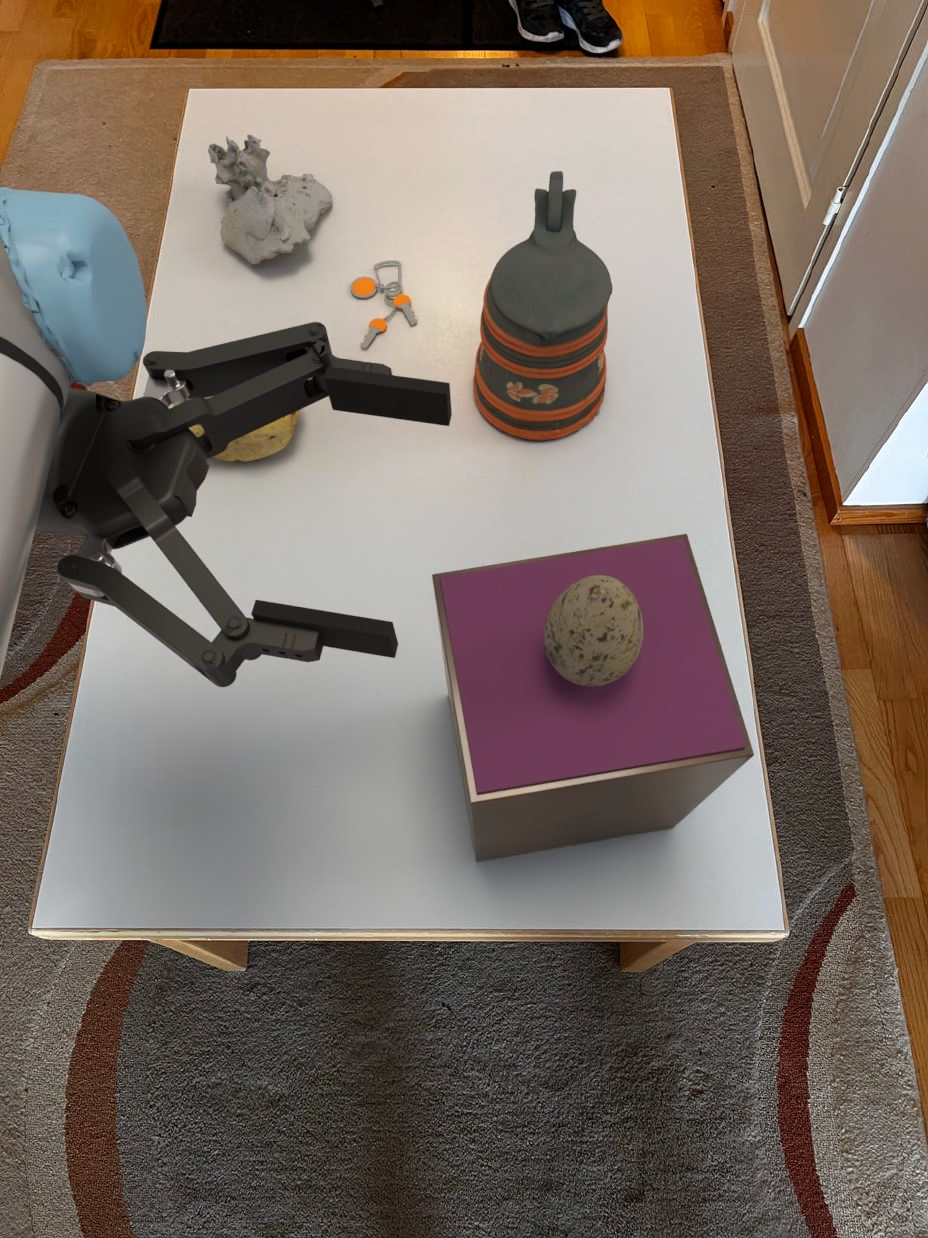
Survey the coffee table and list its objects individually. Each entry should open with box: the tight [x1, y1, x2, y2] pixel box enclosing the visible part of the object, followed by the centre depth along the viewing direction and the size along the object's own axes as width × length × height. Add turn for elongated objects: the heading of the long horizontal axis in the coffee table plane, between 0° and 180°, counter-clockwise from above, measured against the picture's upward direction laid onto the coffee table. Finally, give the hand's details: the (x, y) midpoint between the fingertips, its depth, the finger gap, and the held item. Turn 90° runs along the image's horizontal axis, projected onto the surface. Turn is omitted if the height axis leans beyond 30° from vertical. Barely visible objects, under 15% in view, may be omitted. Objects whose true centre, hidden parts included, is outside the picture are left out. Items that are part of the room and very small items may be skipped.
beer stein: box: [472, 170, 613, 442], centre depth 89 cm, size 19×15×20 cm
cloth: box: [440, 538, 746, 794], centre depth 57 cm, size 17×15×1 cm
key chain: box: [349, 260, 418, 349], centre depth 103 cm, size 13×7×1 cm, turn 8°
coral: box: [207, 134, 333, 265], centre depth 104 cm, size 17×14×10 cm
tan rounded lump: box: [172, 396, 300, 463], centre depth 92 cm, size 13×10×10 cm
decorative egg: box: [544, 575, 643, 687], centre depth 52 cm, size 6×6×10 cm
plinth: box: [431, 533, 755, 863], centre depth 69 cm, size 18×16×26 cm
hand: (424, 515), depth 43 cm, fingers open, 13 cm apart
